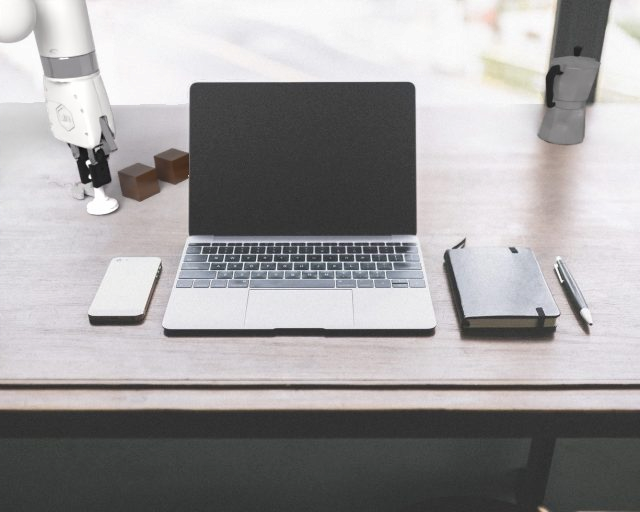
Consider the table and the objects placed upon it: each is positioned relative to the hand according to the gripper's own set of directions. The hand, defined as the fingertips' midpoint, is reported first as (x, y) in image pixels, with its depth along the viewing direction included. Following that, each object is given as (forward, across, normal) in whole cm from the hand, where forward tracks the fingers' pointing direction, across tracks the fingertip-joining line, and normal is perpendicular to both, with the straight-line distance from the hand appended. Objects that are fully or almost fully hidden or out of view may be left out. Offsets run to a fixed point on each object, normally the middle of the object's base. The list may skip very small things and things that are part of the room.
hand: (96, 182), depth 98 cm
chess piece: (+5, 0, 0) cm, 5 cm away
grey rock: (+5, -11, +3) cm, 12 cm away
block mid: (+5, 0, +8) cm, 10 cm away
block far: (+5, 0, +16) cm, 17 cm away
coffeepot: (+6, +52, +72) cm, 89 cm away
